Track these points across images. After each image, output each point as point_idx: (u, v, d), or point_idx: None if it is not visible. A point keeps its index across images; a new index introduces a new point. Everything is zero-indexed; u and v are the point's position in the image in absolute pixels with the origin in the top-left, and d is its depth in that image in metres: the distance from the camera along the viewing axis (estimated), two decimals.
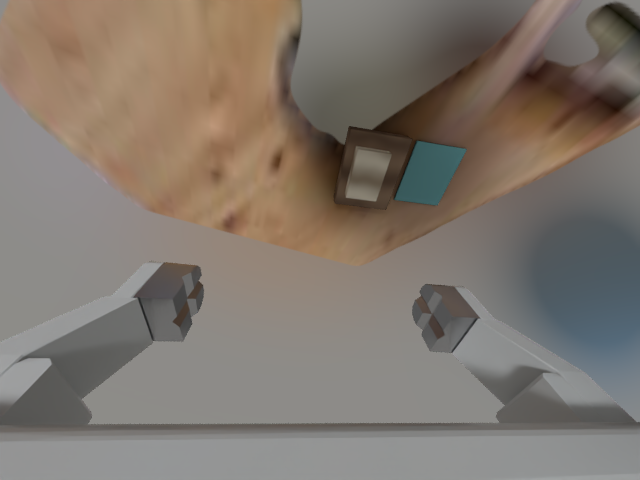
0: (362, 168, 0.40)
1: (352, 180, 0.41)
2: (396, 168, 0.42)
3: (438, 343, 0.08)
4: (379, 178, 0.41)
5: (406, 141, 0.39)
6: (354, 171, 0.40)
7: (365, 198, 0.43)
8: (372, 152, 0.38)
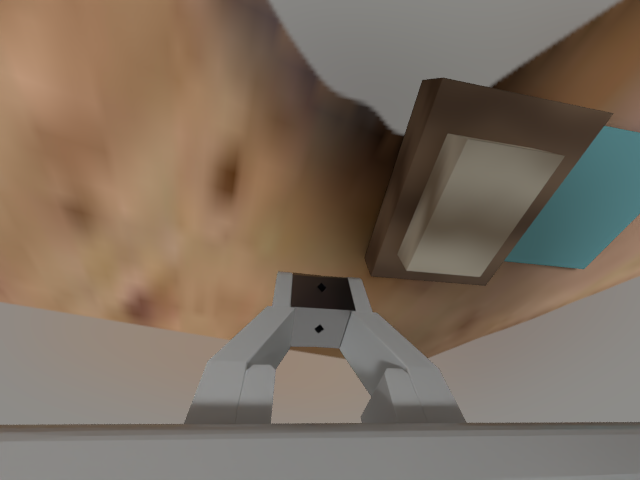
0: (467, 199, 0.14)
1: (431, 229, 0.15)
2: (539, 194, 0.16)
3: (320, 338, 0.07)
4: (506, 223, 0.15)
5: (593, 119, 0.14)
6: (441, 205, 0.14)
7: (455, 271, 0.17)
8: (509, 149, 0.12)
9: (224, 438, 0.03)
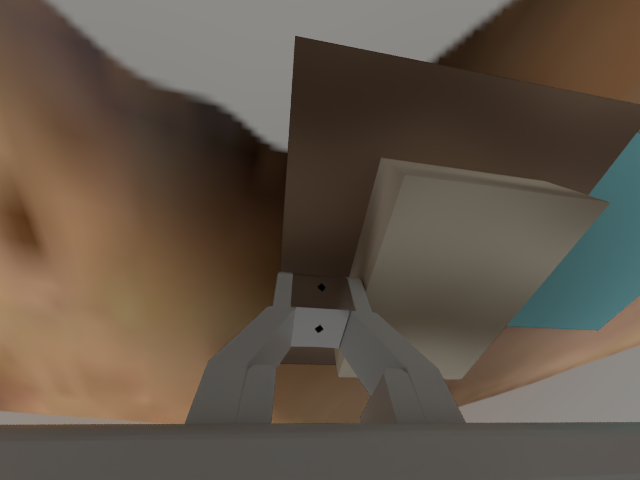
0: (422, 278, 0.07)
1: None
2: None
3: (319, 337, 0.07)
4: (498, 311, 0.08)
5: (617, 120, 0.07)
6: (375, 289, 0.07)
7: None
8: (496, 193, 0.06)
9: (224, 438, 0.03)
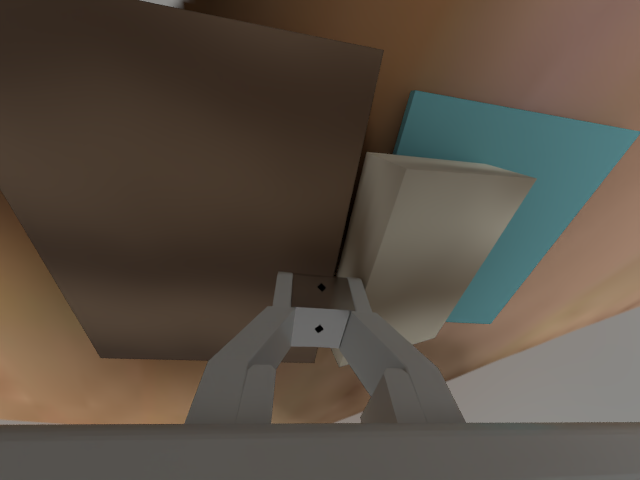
0: (413, 260, 0.08)
1: None
2: (317, 226, 0.08)
3: (320, 338, 0.07)
4: (463, 276, 0.10)
5: (343, 65, 0.06)
6: (375, 279, 0.08)
7: None
8: (471, 179, 0.07)
9: (224, 438, 0.03)
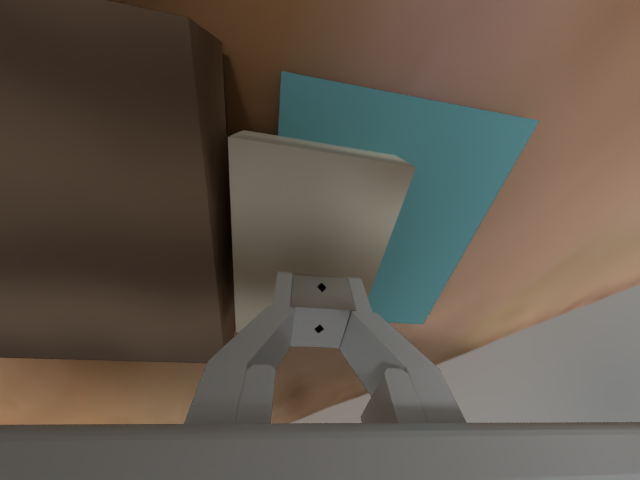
0: (279, 234, 0.09)
1: (244, 279, 0.10)
2: (178, 216, 0.08)
3: (320, 338, 0.07)
4: (360, 269, 0.10)
5: (148, 34, 0.05)
6: (239, 244, 0.09)
7: None
8: (313, 156, 0.07)
9: (224, 438, 0.03)
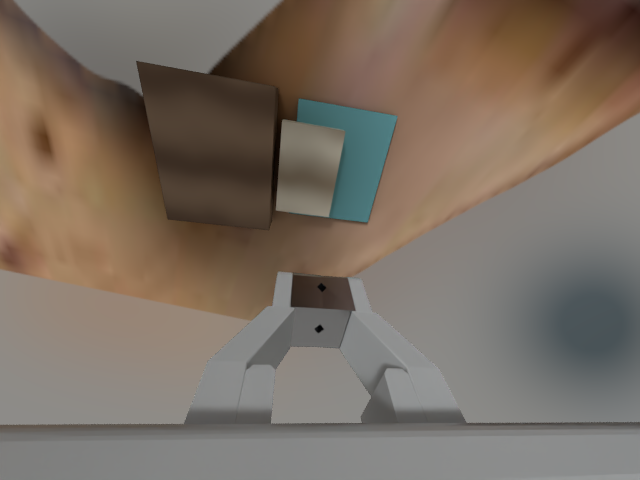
0: (297, 158, 0.23)
1: (282, 179, 0.24)
2: (261, 149, 0.22)
3: (320, 338, 0.07)
4: (329, 176, 0.24)
5: (263, 90, 0.20)
6: (282, 162, 0.23)
7: (309, 211, 0.25)
8: (309, 127, 0.21)
9: (224, 438, 0.03)
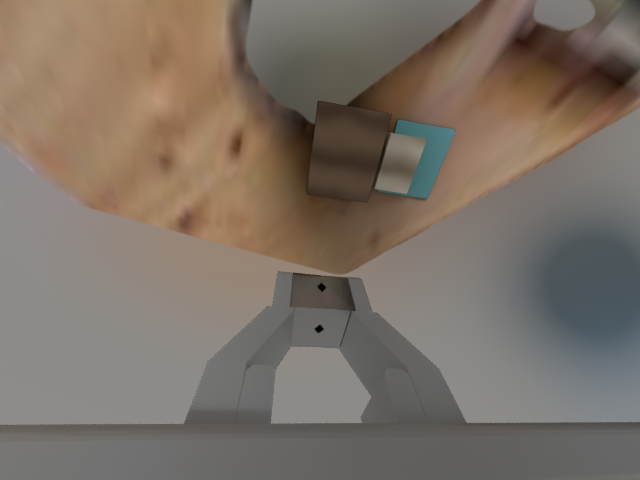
0: (395, 155, 0.37)
1: (383, 169, 0.38)
2: (375, 150, 0.36)
3: (320, 338, 0.07)
4: (412, 167, 0.38)
5: (384, 116, 0.34)
6: (385, 158, 0.37)
7: (395, 190, 0.40)
8: (406, 137, 0.35)
9: (224, 438, 0.03)
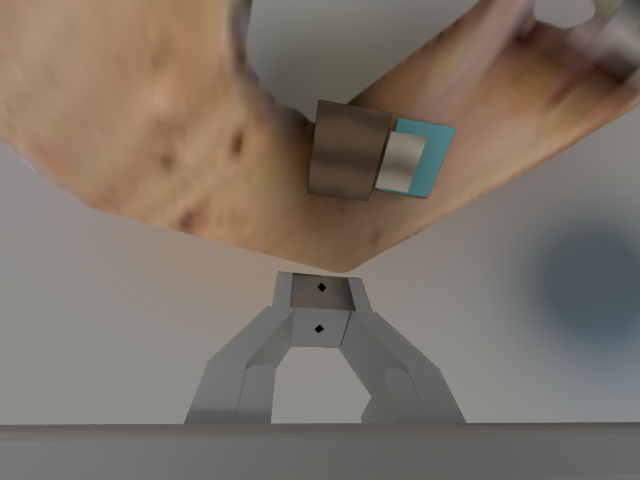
0: (395, 154, 0.37)
1: (383, 167, 0.38)
2: (376, 149, 0.36)
3: (320, 338, 0.07)
4: (412, 165, 0.38)
5: (385, 115, 0.34)
6: (385, 157, 0.37)
7: (396, 188, 0.40)
8: (406, 135, 0.35)
9: (224, 438, 0.03)
